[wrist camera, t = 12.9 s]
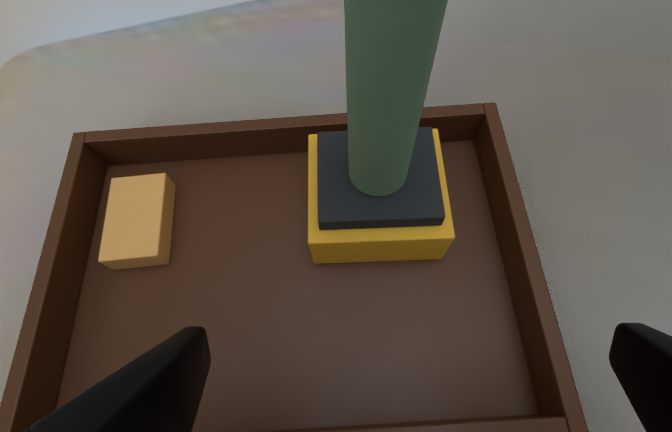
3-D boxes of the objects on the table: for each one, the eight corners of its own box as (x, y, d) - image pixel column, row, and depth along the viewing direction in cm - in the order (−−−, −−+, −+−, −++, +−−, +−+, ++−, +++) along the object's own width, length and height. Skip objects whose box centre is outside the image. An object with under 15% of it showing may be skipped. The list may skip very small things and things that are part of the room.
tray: (479, 136, 20) (496, 101, 18) (553, 430, 15) (590, 436, 12) (105, 162, 21) (72, 132, 18) (39, 461, 15) (-19, 472, 13)
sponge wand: (442, 259, 17) (593, 17, 6) (313, 264, 17) (245, 35, 6) (428, 159, 19) (522, -150, 8) (313, 165, 19) (261, -134, 9)
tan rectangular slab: (169, 264, 18) (157, 255, 16) (112, 270, 18) (96, 261, 16) (176, 184, 19) (165, 171, 18) (124, 190, 19) (110, 177, 18)
